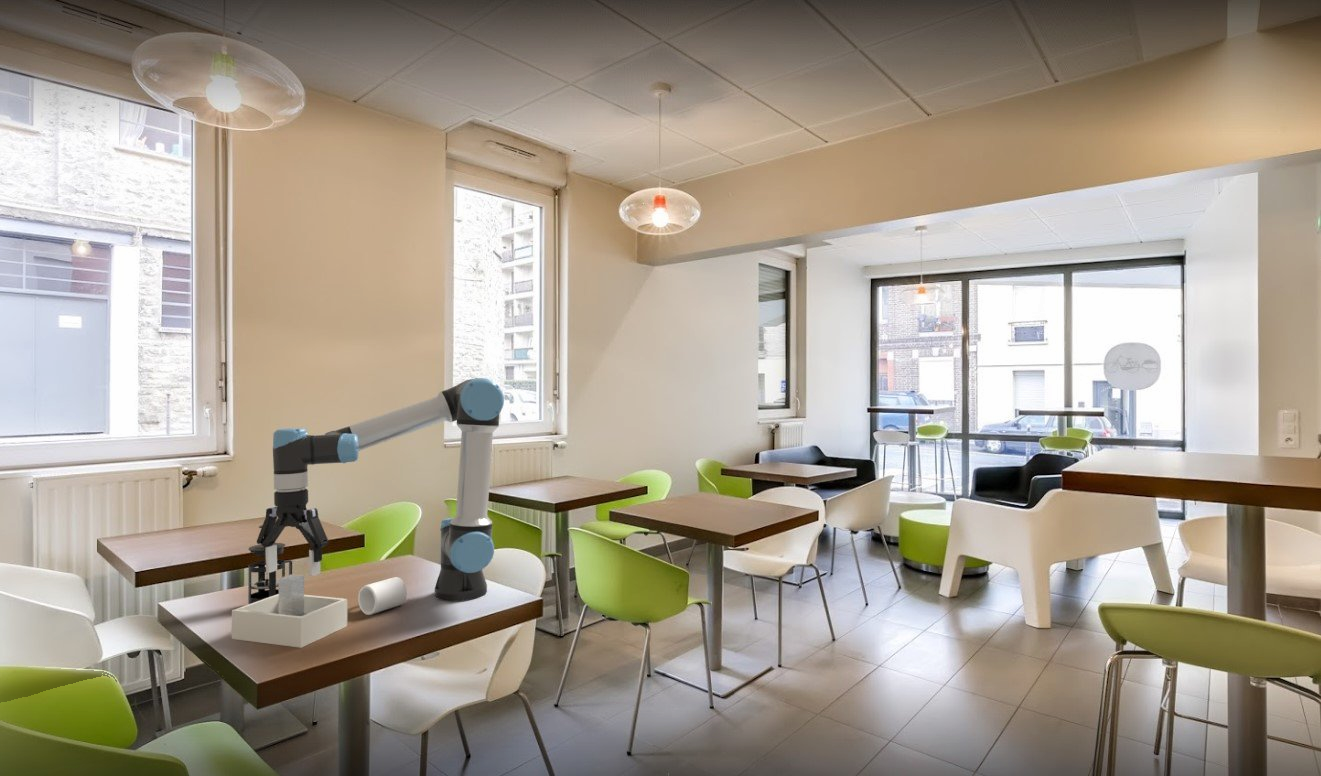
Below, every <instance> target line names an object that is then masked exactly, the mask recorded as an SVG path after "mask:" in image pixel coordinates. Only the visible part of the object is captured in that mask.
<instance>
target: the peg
mask: <svg viewBox="0 0 1321 776" xmlns="http://www.w3.org/2000/svg"><path fill="white" fill-rule="evenodd" d="M278 579H279V586H278V589H279V614H284V615H293V616H303V615H304V595H305V575H304V574H294V573H292V574H291V575H289V574H288V575H285V577H282V576H281V577H279V578H278Z"/></svg>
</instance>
